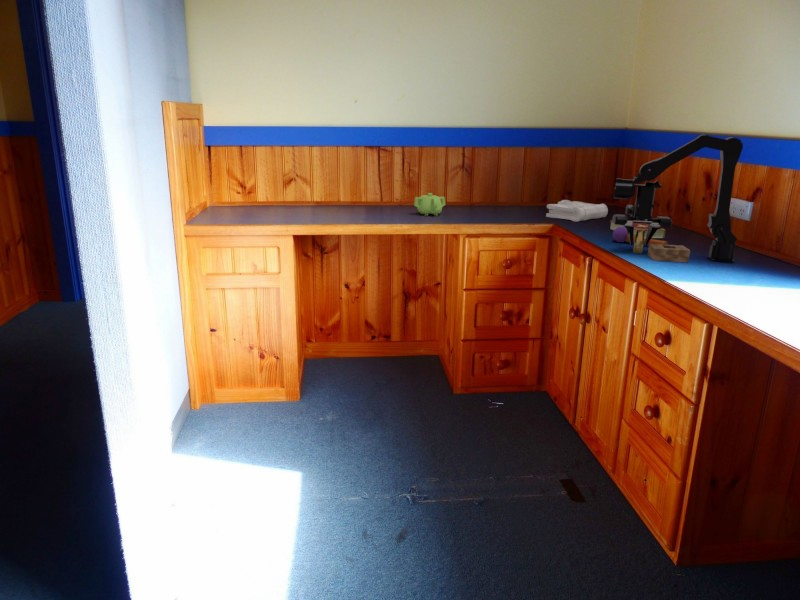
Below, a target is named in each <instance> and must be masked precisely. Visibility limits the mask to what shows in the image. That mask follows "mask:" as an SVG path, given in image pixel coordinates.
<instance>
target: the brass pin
mask: <svg viewBox="0 0 800 600" xmlns="http://www.w3.org/2000/svg"><path fill="white" fill-rule="evenodd" d="M644 235H645V230H644V229H636V233H635V240H634V241H633V248H632V253H633V254H634V253H635V254H642V253H643V249H644V248H643V247H644V243H643V242H644Z"/></svg>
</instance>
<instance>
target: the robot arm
mask: <svg viewBox="0 0 800 600" xmlns="http://www.w3.org/2000/svg"><path fill="white" fill-rule="evenodd" d="M703 148H708V149H713V150H718V151H719V152H720V153H719V154H720V155H719V156H720V164H721V169H720V176H719V183H718V191H717V198H716V199H717V200H716V204H715V205H716V206H715V209H714V212H713V213H709V214H708V223H707V227H708V228H709V231H710V233H711V234H712V235H713V236H714V240H713V239H712V243H711V244H710V245H709V251H708V256H707V258H709V259H710V260H712V261H714V262H726V263H734V262H735V260H734V254H735V249H736V246H737V245H736V242H737V240H738V238H737V237H736V235H734V234H733V232H732V222H731V221H732V220H731V214H730V208H731V200H732V194H733V187H734V180H735V179H734V178H735V174H736V173H735V172H736V167H737V165H738V162H739V159H740V158H741V154H742V151H743V149H744V144H743V142H742V140H741V139H740V138H737V137H731V136H729V137H726V138H720V137H716V136H710V135H708V134H700V135H698V136H697V137H696V138H694V139H692V140H691V141H689V142H687V143H685V144H684V145H681V146H680V147H678V148H676V149H675V150H673V151H671V152H669V153H668V154H666V155H664V156H662V157H658V158H656V159H652V160H650V161H647V162H645V163H643V164H642V165H641V166H640V168H639V172H638V173H637V174H636V175H635V176H634V177H633V178H632V179H626V178H625V179H623V178H620V177H618V178H616V180H615V187H614V191H613V192H614V193H613V199H619V200H631V198H633V197H635V193H636V197H635V201H634V202H635V203H634V205H633V204H626V205H625V206H626V207H625V211H624V213H625V214H617V213H616V214H613V215H612V219H611V221H612V222H613V223H614V224H616V225H623V226H624V227H626V229H627V232H628V236H629V241H630V242H629V244H630V246H633V244H634V241H633V233H634V226H633V223H645V224H649V225H648V232H647V236H646V240H645V243H644V246H646V247H647V246H649V245H648V243H649V241H650V240H651V239H653V238H652V236H653V235H654V234H655V232H656V231H657V230H658V229H661V228H663V227H664V228H673V219H672V218H670V217H669V216H659V215H657V217H656V218H653V209H654V201H655V194H656V189H662V188H663V186H662V185H661V183H659V180H658V179H656V178H658V177H659V176H660V175H661V174H663V173H664V172H665V171H666V170H667V169H669V168H670V167H671V166H674V165H675V164H677V163H679V162H680V161H682V160H684V159H685V158H687V157H689V156H691V155H692V154H694V153H696V152H698V151H700V150H701V149H703ZM655 179H656V180H655ZM653 180H655V181H654V182H653ZM643 182H645V183H644V184H642V183H643ZM627 215H630V217H629V216H627Z"/></svg>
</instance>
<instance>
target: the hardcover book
mask: <svg viewBox="0 0 800 600" xmlns="http://www.w3.org/2000/svg"><path fill="white" fill-rule="evenodd" d="M609 223H610V230H612V231H614V230H615V229H616V228H618V227H624V226H623V225H616V224H614V223H613V222H612V220H609ZM648 225H650V224H646V223H633V226H634V234H635V233H636V229H644V230H645V235H644V238H646V236H647V232H648ZM625 228H626V227H625ZM665 237H666V229H665V228H663V227H661V229H658V230H657V231H656V232H655V234H654V235H653V236H652V238H651V239H665Z"/></svg>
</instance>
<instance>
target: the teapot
mask: <svg viewBox="0 0 800 600" xmlns="http://www.w3.org/2000/svg"><path fill="white" fill-rule="evenodd" d="M413 206H414V207H416V209H417V211H418V213H420V215H423V216H424V217H429V216H430V215H433V216H436V217H438V216H439V215H438V214H441V213H442V211H443V210H442V209H443V207H444V206H446V198H445V196H438V195H433V192H427V194H426V195H425V194H423V195H420V196H415V197H414V202H413Z"/></svg>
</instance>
